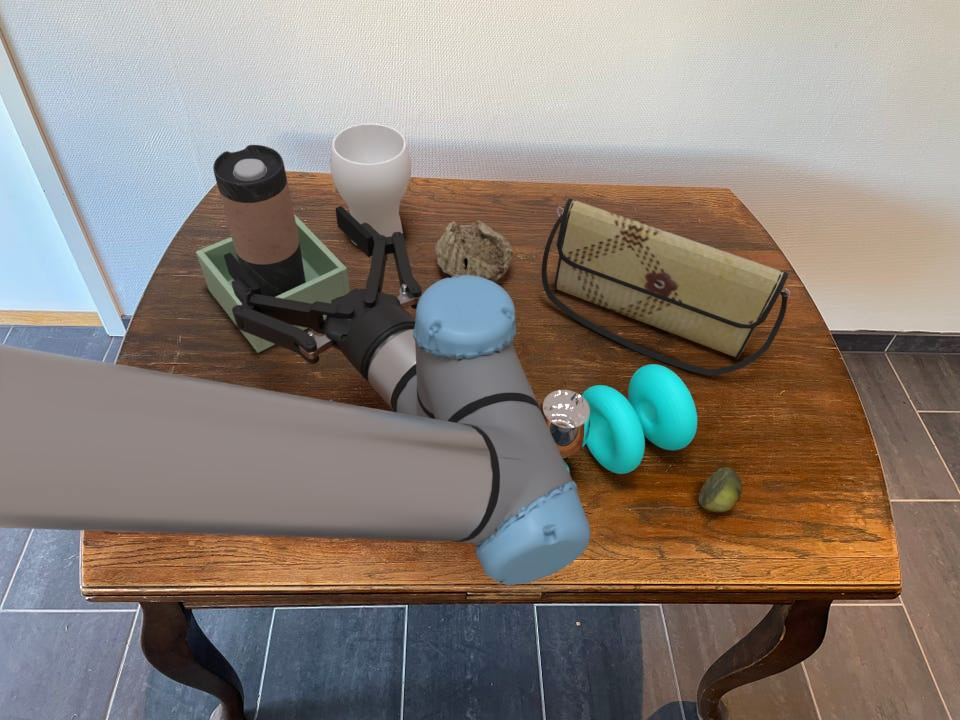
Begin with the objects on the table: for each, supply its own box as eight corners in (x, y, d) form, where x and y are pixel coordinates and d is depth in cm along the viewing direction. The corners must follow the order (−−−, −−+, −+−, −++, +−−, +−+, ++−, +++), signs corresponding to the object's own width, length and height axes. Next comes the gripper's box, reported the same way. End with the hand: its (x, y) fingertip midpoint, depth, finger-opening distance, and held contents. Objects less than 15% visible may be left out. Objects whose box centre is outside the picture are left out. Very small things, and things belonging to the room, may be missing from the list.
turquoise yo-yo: (687, 460, 79) (714, 409, 71) (614, 494, 75) (635, 444, 68) (636, 396, 84) (657, 343, 76) (566, 425, 81) (581, 372, 73)
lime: (700, 521, 74) (715, 499, 70) (687, 481, 77) (700, 458, 73) (739, 518, 74) (756, 496, 70) (725, 479, 77) (740, 455, 73)
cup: (336, 257, 97) (323, 166, 85) (342, 209, 104) (331, 119, 92) (412, 258, 98) (409, 168, 86) (413, 211, 104) (411, 121, 93)
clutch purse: (527, 309, 93) (541, 220, 81) (547, 277, 97) (563, 189, 85) (746, 395, 85) (796, 311, 74) (758, 357, 89) (806, 272, 78)
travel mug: (295, 320, 88) (266, 190, 73) (239, 308, 89) (198, 177, 73) (317, 280, 93) (295, 150, 77) (264, 269, 94) (231, 138, 78)
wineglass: (560, 442, 79) (577, 378, 70) (585, 483, 76) (606, 421, 67) (515, 459, 77) (526, 395, 68) (539, 502, 74) (554, 440, 65)
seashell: (463, 314, 95) (528, 281, 94) (444, 288, 89) (514, 253, 88) (439, 255, 101) (500, 224, 100) (420, 227, 95) (485, 193, 94)
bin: (257, 353, 85) (246, 315, 80) (208, 290, 92) (195, 251, 86) (351, 306, 91) (347, 268, 86) (299, 250, 97) (292, 211, 92)
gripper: (287, 443, 64) (188, 310, 74) (492, 325, 75) (381, 223, 85) (274, 395, 58) (168, 257, 68) (497, 275, 69) (378, 172, 79)
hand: (286, 238), depth 77 cm, fingers open, 13 cm apart
